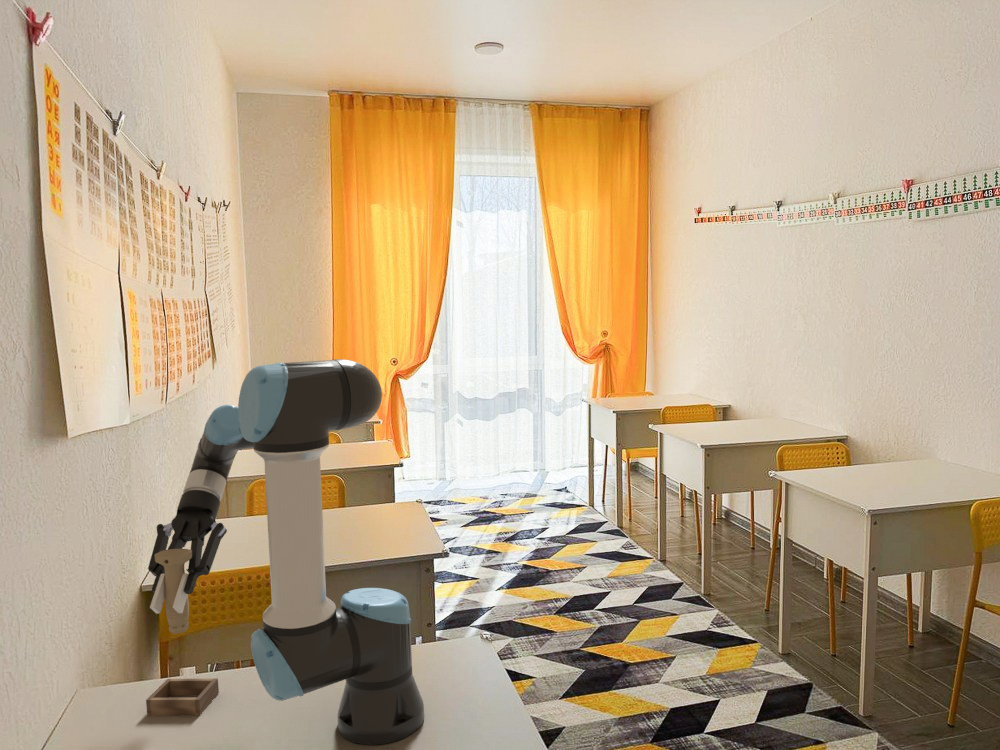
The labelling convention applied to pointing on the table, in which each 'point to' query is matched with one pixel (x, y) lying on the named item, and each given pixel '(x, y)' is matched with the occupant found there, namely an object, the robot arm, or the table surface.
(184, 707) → the socket block
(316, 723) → the table surface
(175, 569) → the handle
